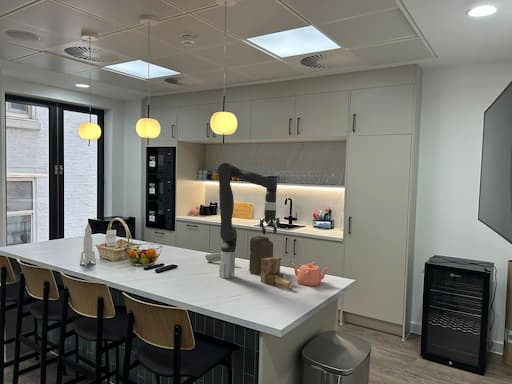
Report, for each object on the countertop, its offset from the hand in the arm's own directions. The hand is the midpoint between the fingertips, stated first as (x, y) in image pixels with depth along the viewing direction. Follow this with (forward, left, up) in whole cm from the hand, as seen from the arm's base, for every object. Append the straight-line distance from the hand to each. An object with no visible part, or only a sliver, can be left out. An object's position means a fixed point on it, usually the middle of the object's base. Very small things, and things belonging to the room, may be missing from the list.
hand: (269, 233), depth 242 cm
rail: (-1, -16, -30) cm, 34 cm away
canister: (+7, +18, -30) cm, 36 cm away
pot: (+20, -18, -30) cm, 41 cm away
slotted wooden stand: (-1, -7, -30) cm, 31 cm away
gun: (-8, +50, -30) cm, 59 cm away
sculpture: (-93, +91, -30) cm, 134 cm away
